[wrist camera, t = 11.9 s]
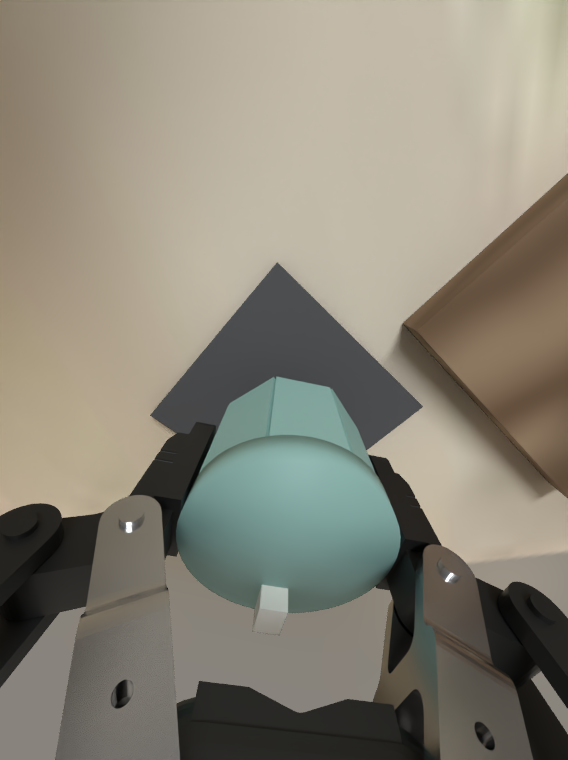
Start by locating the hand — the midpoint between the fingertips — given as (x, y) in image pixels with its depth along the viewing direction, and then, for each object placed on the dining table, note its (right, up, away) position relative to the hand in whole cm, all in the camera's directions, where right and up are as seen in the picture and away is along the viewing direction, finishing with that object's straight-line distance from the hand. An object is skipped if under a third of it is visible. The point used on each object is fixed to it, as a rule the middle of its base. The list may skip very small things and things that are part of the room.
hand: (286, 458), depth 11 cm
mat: (0, +2, +4) cm, 4 cm away
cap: (0, +1, +1) cm, 1 cm away
